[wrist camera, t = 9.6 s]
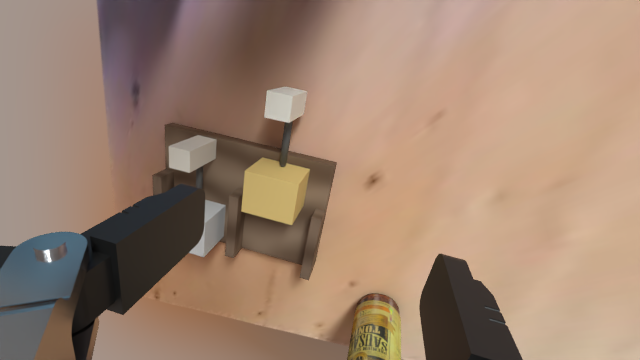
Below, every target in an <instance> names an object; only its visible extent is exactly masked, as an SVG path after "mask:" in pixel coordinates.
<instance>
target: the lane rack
mask: <svg viewBox="0 0 640 360" xmlns="http://www.w3.org/2000/svg"><path fill="white" fill-rule="evenodd" d="M197 135H200V136H204V137H208V138H212V139H216V140H217V142H216V159H214V160H212V161H210V162H209V163H207V164H205V165H203V190H204V192H205V200H208V201H212V202H216V203H219V204H223V205H226V209H225V224H224V237H223V238H222V239H221V240H220V241H221V242H224V243H226V250H225V256H228V257H231V258H234V257H235V256H236V254H237V253H238V252H239V250H240V249H241V248H245V249H248V250H252V251H255V252H259V253H262V254H266V255H269V256H273V257H276V258H280V259H283V260H287V261H290V262H294V263H297V264H300V265H302V269H301V274H300V278H303V279H306V280H309V278H310V275H311V272H312V270H313V267H314V264H315V261H316V257H317V252H318V247H319V243H320V238H321V233H322V229H323V224H324V219H325V215H326V210H327V205H328V201H329V196H330V191H331V187H332V182H333V178H334V173H335V168H336V164H337V162H332V161H328V160H324V159H320V158H316V157H312V156H308V155H303V154H299V153H295V152H291V151H288V156H287V164H291V165H296V166H300V167H304V168H308V169H310V172H309V178H308V184H307V189H306V195H305V200H304V206H303V207H302V209H301V211H300V213H299V214H298V216H297V218H296V219H295V221H294V223H293V224H292V225H289V224H285V223H282V222H278V221H274V220H271V219H267V218H263V217H260V216H256V215H252V214H249V213H245V212H241V209H242V197H243V186H244V175H245V170H246V169H248V168H249V167H250V166H252V165H253V164H254V163H256V162H257V161H258V160H260V159H261V158H262V157H263V158H267V159H271V160H275V161H279V162H280V155H281V149H279V148H274V147H270V146H266V145H262V144H258V143H254V142H250V141H245V140H241V139H237V138H233V137H229V136H225V135H221V134H216V133H212V132H208V131H204V130H200V129H196V128H192V127H187V126H183V125H179V124H175V123H171V124H167V125H165V151H166V169H165V170H163V171H161V172H158V173H156V174H154V175H153V196H154V195H157V194H161V193H165V192H166V191H168V190H170V189H172V188H173V187H175V186H177V185H179V184H186V185H189V186H193V187H196V170H194V171H192V172H190V173H188V172H184V171H180V170H177V169H173V168H169V146H170V145H173V144H176V143H178V142H181V141H184V140H186V139H189V138H192V137H194V136H197Z"/></svg>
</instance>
